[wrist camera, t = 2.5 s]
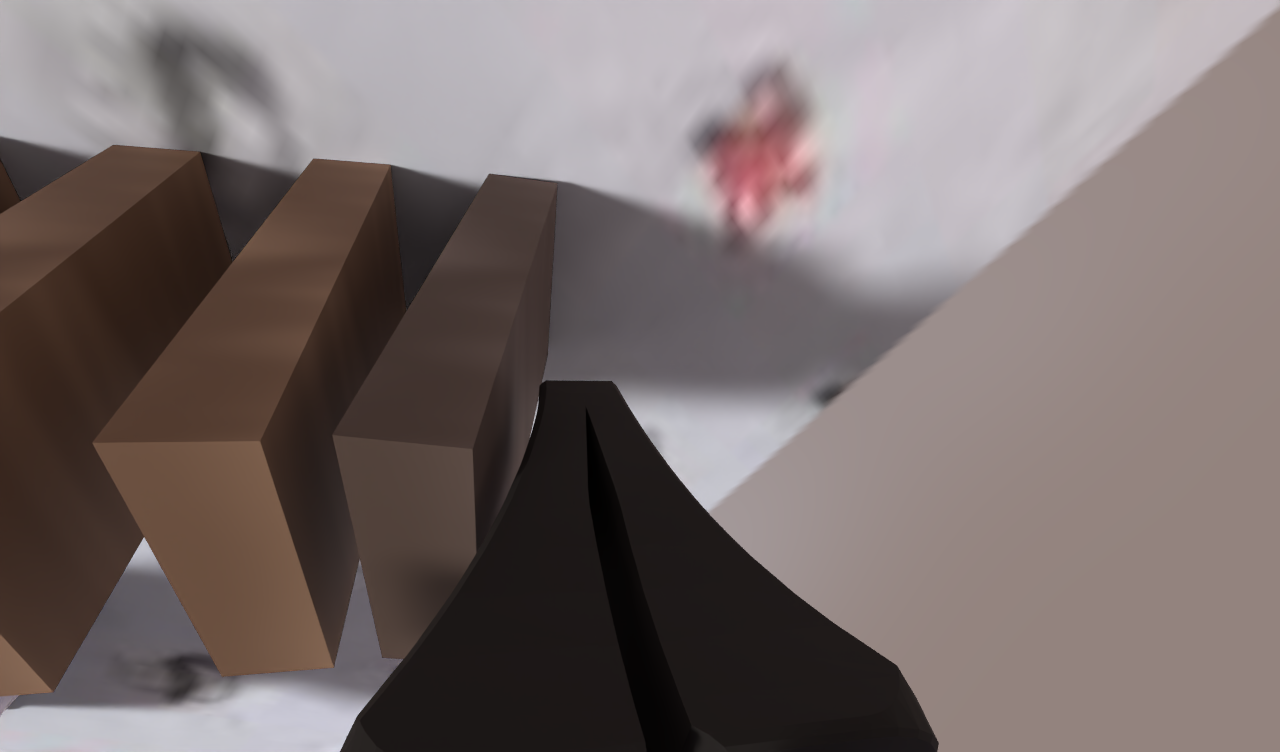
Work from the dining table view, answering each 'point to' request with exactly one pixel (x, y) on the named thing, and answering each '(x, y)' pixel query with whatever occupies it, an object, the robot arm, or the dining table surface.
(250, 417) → the domino
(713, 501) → the dining table surface
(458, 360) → the domino
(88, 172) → the domino
